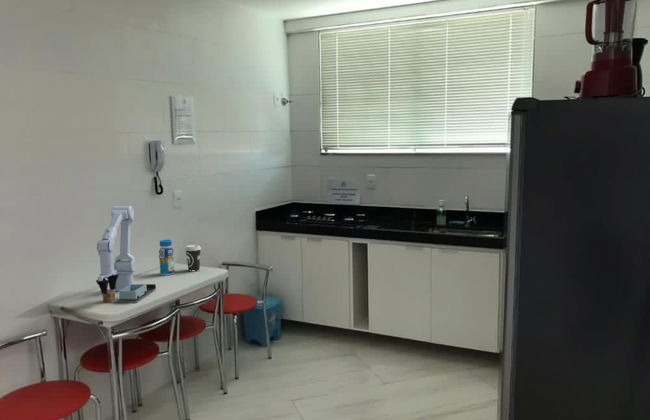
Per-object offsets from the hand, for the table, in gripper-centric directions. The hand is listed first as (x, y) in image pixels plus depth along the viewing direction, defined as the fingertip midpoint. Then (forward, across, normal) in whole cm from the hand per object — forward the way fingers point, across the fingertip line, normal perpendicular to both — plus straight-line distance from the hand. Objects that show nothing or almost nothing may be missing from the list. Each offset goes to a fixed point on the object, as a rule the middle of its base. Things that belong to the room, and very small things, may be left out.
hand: (108, 291), depth 251 cm
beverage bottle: (+5, +53, -8) cm, 54 cm away
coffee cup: (+4, +62, -21) cm, 66 cm away
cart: (+3, +5, -10) cm, 12 cm away
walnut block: (+5, 0, 0) cm, 5 cm away
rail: (+5, +9, -10) cm, 14 cm away
